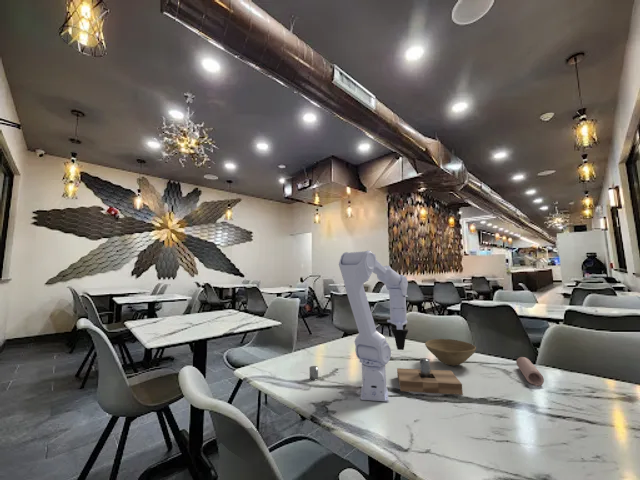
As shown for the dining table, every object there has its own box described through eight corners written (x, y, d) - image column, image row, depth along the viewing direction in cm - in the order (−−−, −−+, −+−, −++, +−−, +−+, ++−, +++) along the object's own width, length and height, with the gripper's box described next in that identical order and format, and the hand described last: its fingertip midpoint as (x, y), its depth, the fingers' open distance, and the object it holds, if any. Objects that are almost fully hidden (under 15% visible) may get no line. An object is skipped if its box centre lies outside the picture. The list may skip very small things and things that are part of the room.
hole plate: (462, 394, 84) (461, 384, 84) (400, 391, 87) (400, 380, 87) (451, 379, 95) (451, 370, 96) (397, 377, 99) (397, 368, 99)
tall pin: (428, 387, 90) (427, 361, 91) (419, 385, 91) (418, 359, 92) (432, 384, 92) (430, 359, 93) (423, 382, 94) (421, 357, 95)
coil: (544, 373, 89) (531, 357, 105) (526, 369, 91) (516, 355, 107) (544, 388, 88) (530, 370, 104) (526, 384, 90) (515, 367, 106)
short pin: (317, 381, 97) (317, 368, 97) (308, 380, 97) (308, 368, 98) (318, 377, 100) (318, 366, 100) (310, 377, 100) (310, 365, 101)
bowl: (473, 376, 98) (471, 352, 99) (420, 366, 109) (419, 345, 110) (480, 362, 113) (479, 342, 114) (433, 355, 124) (432, 336, 125)
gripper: (386, 305, 109) (388, 341, 108) (386, 310, 95) (388, 351, 94) (405, 305, 108) (407, 342, 106) (408, 310, 94) (410, 352, 92)
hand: (399, 346), depth 100 cm, fingers open, 7 cm apart
